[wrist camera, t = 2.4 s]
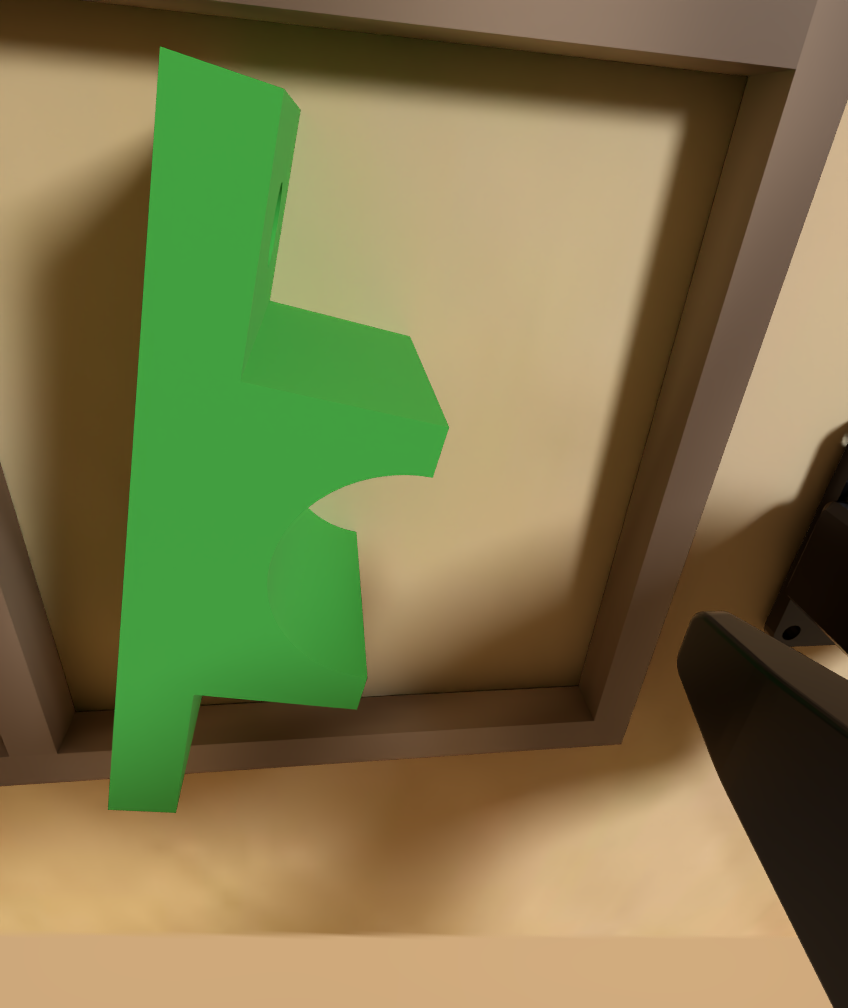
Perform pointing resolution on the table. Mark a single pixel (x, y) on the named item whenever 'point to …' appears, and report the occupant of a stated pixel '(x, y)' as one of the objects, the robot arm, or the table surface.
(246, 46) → the table surface
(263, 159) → the pipe clamp
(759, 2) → the sorting frame
